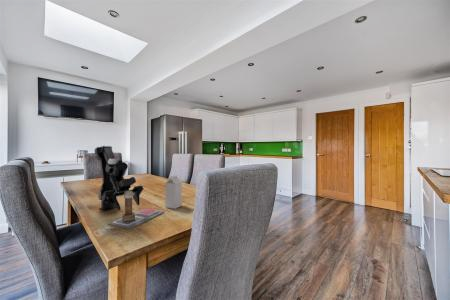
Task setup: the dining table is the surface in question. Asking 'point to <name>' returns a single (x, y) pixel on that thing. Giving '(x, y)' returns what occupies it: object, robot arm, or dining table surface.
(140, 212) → the stamping board
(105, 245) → the dining table surface
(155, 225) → the dining table surface
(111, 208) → the robot arm
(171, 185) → the milk carton
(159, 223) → the dining table surface
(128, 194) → the walnut stamp
